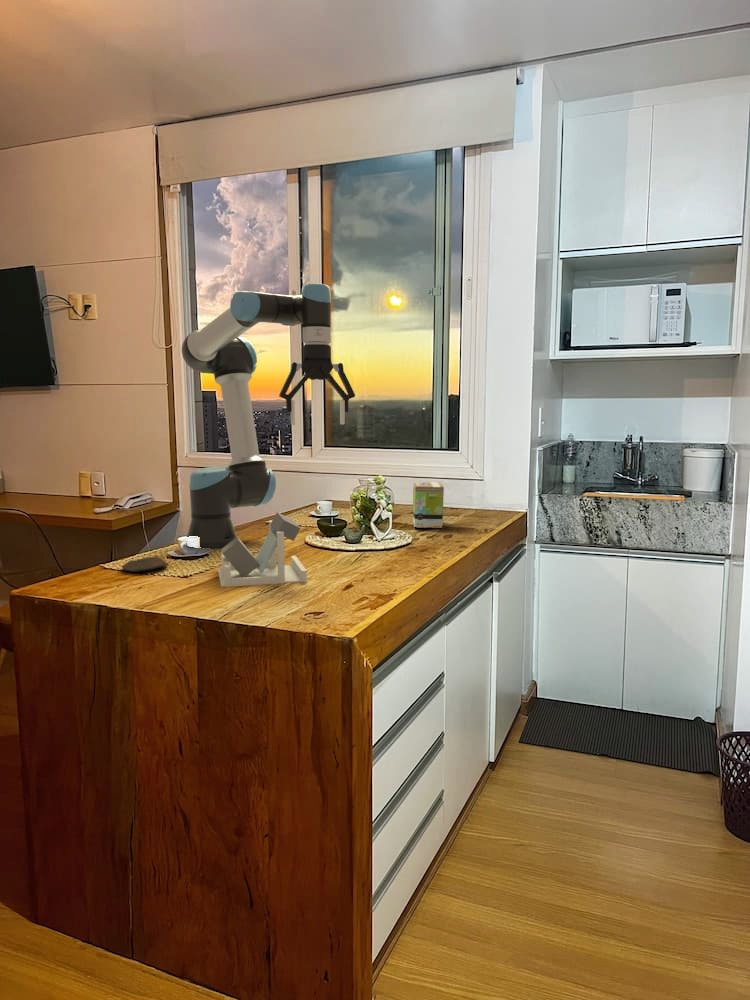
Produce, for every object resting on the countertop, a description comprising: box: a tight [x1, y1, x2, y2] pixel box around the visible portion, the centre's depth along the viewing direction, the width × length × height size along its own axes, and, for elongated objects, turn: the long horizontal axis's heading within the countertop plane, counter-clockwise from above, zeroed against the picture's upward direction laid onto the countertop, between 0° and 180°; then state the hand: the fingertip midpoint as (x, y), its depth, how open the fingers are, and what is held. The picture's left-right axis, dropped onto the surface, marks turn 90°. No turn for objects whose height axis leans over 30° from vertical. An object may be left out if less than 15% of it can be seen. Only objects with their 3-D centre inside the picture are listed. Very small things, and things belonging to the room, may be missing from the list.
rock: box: [121, 555, 169, 572], centre depth 186 cm, size 11×12×3 cm
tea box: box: [412, 481, 445, 528], centre depth 251 cm, size 15×10×15 cm
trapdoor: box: [255, 511, 301, 574], centre depth 179 cm, size 13×14×4 cm
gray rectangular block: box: [220, 536, 259, 577], centre depth 177 cm, size 5×5×8 cm
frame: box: [217, 520, 308, 588], centre depth 178 cm, size 18×20×12 cm
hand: (317, 424), depth 196 cm, fingers open, 13 cm apart
